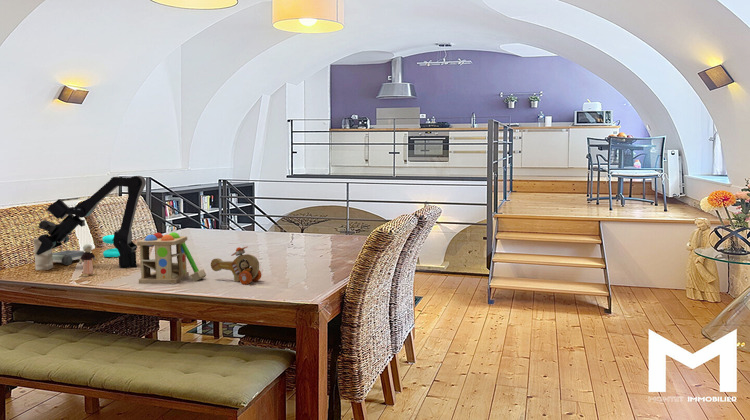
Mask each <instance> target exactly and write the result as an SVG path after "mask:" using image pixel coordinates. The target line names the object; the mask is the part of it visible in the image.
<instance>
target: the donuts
mask: <svg viewBox="0 0 750 420" xmlns="http://www.w3.org/2000/svg"><path fill="white" fill-rule="evenodd" d="M113 238H114V234H108V235H104V236H103V237H102V241H103V243H105V244H109V245H113V242H114V241H112V240H113ZM102 256H103V257H104V258H107V257H116V258H119V256H120V254H119V251H118V249H116V248H115V247H113V248H108V249H106V250H103V252H102Z"/></svg>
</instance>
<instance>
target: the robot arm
mask: <svg viewBox="0 0 750 420" xmlns="http://www.w3.org/2000/svg"><path fill="white" fill-rule="evenodd" d="M146 184H147V180H146V178H145V177H143V176H142V175H133V176H131V177H126V176H125V177H121V176H112V177H111V178H110V180H108V181H107V182H106V183H105V184H104V185H102V187H100V188H99V189H98V190H97V191H96V192H95V193H94V194H93V195H91V196H90V197H88V198H86V199H85V200H83V201H81V202H79V203H78V204H76V205H75V206H71V207H69V206H68V204H66V203H65V202H64V201H63V200H62V199H60V198H58V199H57V200H56V201H54V202H53V203H52V204H50V205H48V207H47V208H46V211H48V212H49V213H50V214H51V215H52V216H53V217H54V218H56V219H57V220H59V219H61V221H60V223H57V224H56V223H54V222H52V221H49V220H47V219H43V220H41V221H40V222H39V223H38V225H39V226H38V229H40V230H43V231H46V232H47V233H46V234H45V233H43V234H41V235H40V236H38V237H37V238H38V240H39V241H40V242H41V245H40V247H39V249H38V251H37V253H36V254H37V255H40V254H42V253H44V252H46V251H48V250H50V249H52V250H54V249H56V248H58V247H60V246H62V245H63V244H67V243H68V242H69V240H70V236H69V235H71V234H73V231H74V230H75V229H76V228H77V227H78V226H80V227H85V226H86V223H85V219H83V218H86V217H89V216H91V215H92V213H93V212H94V211H95V210H96V209H97V206H98V205H99V204H100V202H102V201H103V200H105V198H107V197H108V196H109V195H110V194H111V193H112V192H114V190H116V189H117V188H118V187H123V188H124V187H125V188H127V200H126V204H125V208H124V211H123V216H122V220H121V225H120V227H119V229H117V230H115V231H114V233H113V235H114V238H113V240H112V241H114V242H113V244H112V245H113V246H114V248H116V249H118V251H119V254H120V256H119V257H118V266H119V268H120V269H121V268H123V269H125V268H136V267H138V264H137V252H136V251H137V248H138V245H137V243H136V244H135V242H134V241H132V240H133V233H132V226H133V223H134V219H135V215H136V211H137V207H138V203H139V198H140V197H141V195H142V194H143V191H144V189H145V188H146ZM81 218H82V219H81Z"/></svg>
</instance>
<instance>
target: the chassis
mask: <svg viewBox="0 0 750 420" xmlns="http://www.w3.org/2000/svg"><path fill="white" fill-rule="evenodd" d="M83 253H85V251H84V250H77V249H76V250H74V249H72V250H70V249H69V250H68V249H67V250H63V251H61V250H60V251H56V252H52V256H53V263H61V264H62V265H64V266H70V265H71V264H72V263H73V261H74V260H75V261H76V260H80V258H81V257H82V255H83Z"/></svg>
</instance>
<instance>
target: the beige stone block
mask: <svg viewBox="0 0 750 420" xmlns="http://www.w3.org/2000/svg"><path fill="white" fill-rule="evenodd" d="M38 238H39V237H36V238H33V248H34V249H33V250H34V251H33V253H34V265H35V271H48V270H50V269H53V268H54V262H53V256H52V253H53V249H50V250H48V251H46V252H44V253H42V254H40V255H37V254H36V253H37V251H38V249H39V247H40V245H41V242H40V241H39V240H38Z"/></svg>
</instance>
